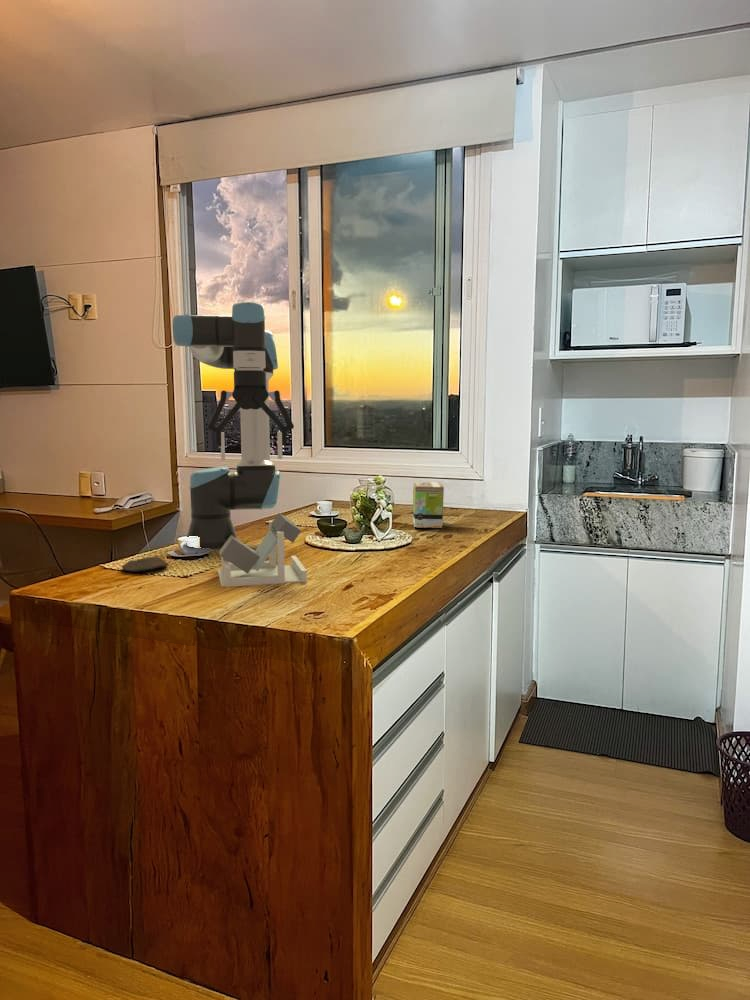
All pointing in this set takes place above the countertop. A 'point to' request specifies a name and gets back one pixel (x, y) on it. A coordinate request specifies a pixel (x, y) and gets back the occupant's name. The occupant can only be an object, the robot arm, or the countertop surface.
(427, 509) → the tea box
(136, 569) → the rock
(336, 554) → the countertop surface
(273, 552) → the frame
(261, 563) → the trapdoor
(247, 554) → the gray rectangular block
